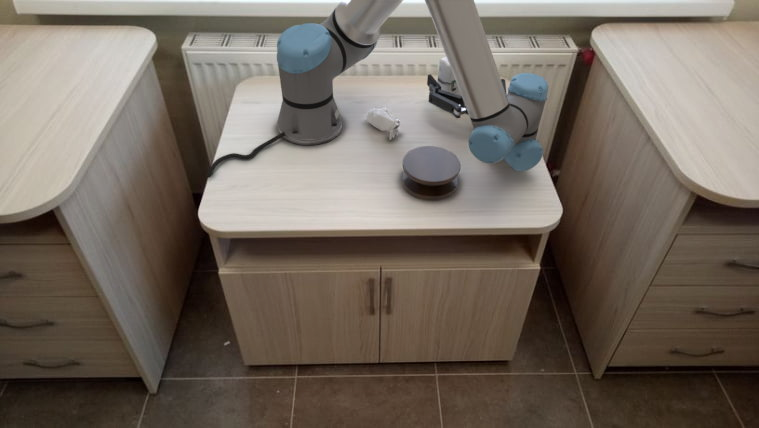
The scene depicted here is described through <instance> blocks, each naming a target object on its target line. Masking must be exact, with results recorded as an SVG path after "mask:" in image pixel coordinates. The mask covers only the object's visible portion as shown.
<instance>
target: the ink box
mask: <svg viewBox="0 0 759 428" xmlns="http://www.w3.org/2000/svg"><path fill="white" fill-rule="evenodd" d="M436 81H437V82H438V84H439V85H440V86H441V90H444V91H447V92H450V93H453V94H457V95H460V96H461V93H460V90H459V88H458V85H457V83H456V80H455V77H454V75H453V72H452V70H451V67H450V64H449V62H448V59H447V57H446V56H443V57H441V58H440V59H439V65H438V73H437V80H436Z"/></svg>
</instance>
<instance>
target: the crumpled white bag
mask: <svg viewBox="0 0 759 428" xmlns="http://www.w3.org/2000/svg"><path fill="white" fill-rule="evenodd" d="M365 122H366V123H369V125H372V126H373V127H374V128H376V129H378V130H380V131H382V132H384V131H386V132H389V136H388V138H389V140H390V141H391V140H392V139H395V135H396V136H399V132H400V131H399V129H398V128H399V127H400V126H401V123H400V122H401V121H400V119H398V118H396V117H395V116H394V115H392V113H391V111H390V110H389V109H388V108H387V107H382V108H377V107H376V108H369V109H368V111H367V114H366V119H365Z"/></svg>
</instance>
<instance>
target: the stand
mask: <svg viewBox="0 0 759 428" xmlns="http://www.w3.org/2000/svg"><path fill="white" fill-rule="evenodd" d="M460 161H461V160H460V159H459V158H458V157H457V155H456V154H454V153H453V152H452V151H451V150H448V149H446V148H444V147H440V146H435V145H423V146H418V147H415V148H413V149H410V150H409V151H408V152H407V153H406V154H405V155H404V157H403V159H402V171H403V172H402V173H401V185H402V187H403V189H404V191H405V192H406V193H407V194H409V195H410V196H412V197H413V198H415V199H419V200H422V201H426V202H427V201H428V202H435V201H436V202H437V201H441V200H445V199H448V198H449V197H451V196H452V195H454V194H455V192H456V191H457V190H458V186H459V185H458V184H459V175H460V172H461V162H460Z"/></svg>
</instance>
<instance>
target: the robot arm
mask: <svg viewBox="0 0 759 428" xmlns="http://www.w3.org/2000/svg"><path fill="white" fill-rule="evenodd" d="M403 1H404V0H342V1H339V2H338V3H337V5H336V7H335V8H334V9H333V11H332V12H331V13H330V15H329V16H328V17H327V18H326V20H324V21H323V22H321V23H320V24H318V23H312V22H305V23H302V24H301V25H300V24H295V25H293V26H290V27H288V28H287V29H285V30H284V31H283V32H281V34H280V35H279V37H278V39H277V42H276V62H277V66H278V73H279V74H278V75H279V81H280V90H281V97H282V100H281V101H282V102H281V105H280V108H279V114H278V117H277V129H278V133H279V134H277V135H275V136H273V137H272V138H270V139H268V140H266V141H265V142H263V143H261V144H260V145H258V146H257V147H255V148H254V149H253V150H252V151H251V152H250V153H249V154H241V153H234V152H233V153H229V154H225V155H223V156H220V157H218V158H217V159H216V160H214V162H213V163H212V164H211V165H210V167H209V169H208V170H207V172H206V174H205V179H208V178H209V179H210V178H211V176H212V174H213V173H214V171H215V169H216V168H217V167H218V166H219V165H220V164H221V163H222V162H224V161H226V160H229V159H234V158H236V159H240V160H250V159H252V158H254V157H255V156H256V154H257V153H258V152H260V151H261V150H263V149H264V148H266V147H268V146H270V145H272V144H273V143H275V142H277V141H279V140H281V139H282V138H283V139H284V140H286V141H288V142H290V143H292V144H296V145H300V146H315V145H321V144H325V143H327V142H330V141H333V140H334V139H335V138H336V137H338V135H339V134H340V133H341V131H342V129H343V117H342V114H341V111H340V109H339V106H338V105H337V102H336V100H335V98H334V85H333V82H334V79H335V78H337V77H338V76H340V75H341V74H343V73H344V72H345V71H347V70H348V69H350V68H352V67H353V66H354V65H355V64H356V65H357V63H359V62H361V61H363V60H365V59H366V58H367V57H369V55H370V54H371V53H372V52H373V51H374V50H375V48H376V46H377V45H378V40H379V39H380V37H381V34H382V33H381V32H382V29H381V27H382V25H383V24H384V23H385V22H386V21H387V20H388V19H389V18H390V16H391V15H392V14H393V13H394V11H396V9H398V7H399V6H400V5H401V4H402V3H403ZM424 2H425V4H426V7H427V10H428V12H429V15H430V18H431V20H432V22H433V25H434V28H435V30H436V33H437V36H438V38H439V41H440V43H441V46H442V49H443V52H444V53H445V57H447V59H448V62H449V64H450V67H451V70H452V72H453V75H454V77H455V80H456V83H457V85H458V88H459V90H460V93H461V96H460V95H457V94H453V93H450V92H447V91H444V90H441V86H440V85H439V84H438V82H437V81H438V80H436V79H435V77H434V76H433V75H432V74H430V73H429V74H427V79H426V85H427V87H428V91H429V92H428V103H429V104H431V105H433V106H435V107H438V108H439V109H441V110H443V111H445V112H447V113H449V114H451V115H452V116H453V117H454V118H456V119H461V115H464V114H465V115H468V116H469V119H470V121H471V124H472V127H473V130H472V131H471V133H470V135H469V137H468V148H469V151H470V152H471V154H472V155H473V156H474V158H476V159H477V160H478V161H480V162H482V163H484V164H496V163H499V162H501V161H502V160H503V161H504V162H505V163H507V164H508V166H509V167H510V168H511V169H512V170H514V171H517V172H525V171H529V170H531V169H533V168H535V167H536V166H537V165H538V164H539V163H540V161H541V160H542V158H543V154H544V149H543V146H542V145H541V143H540V141H539V140H537V135H538V132H539V126H540V123H541V120H542V116H543V112H544V108H545V105H546V101H548V92H549V83H548V81H547V80H546V78H544V77H543V76H541V75H538V74H536V73H531V72H521V73H518V74H515V75H514V76H513V77H511V79H510V82H509V86H508V87H507V84H506V83H507V82H506V79H504V78H501V75H500V73H499V69H498V66H497V64H496V60H495V58H494V55H493V53H492V49H491V47H490V44H489V41H488V37H487V35H486V32H485V29H484V26H483V24H482V20H481V17H480V14H479V12H478V8H477V6H476V2H475V0H424Z"/></svg>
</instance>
